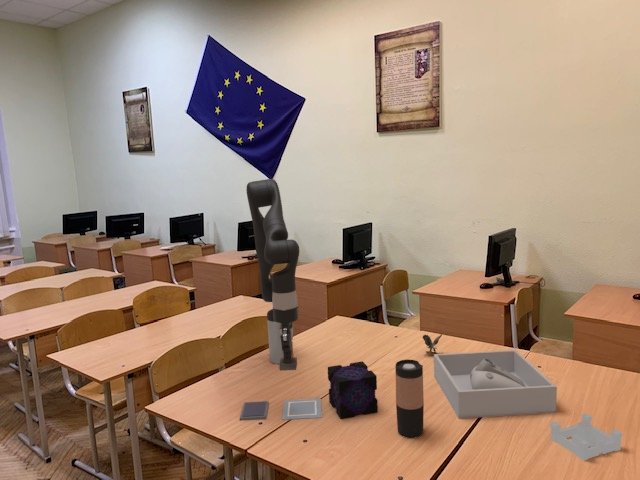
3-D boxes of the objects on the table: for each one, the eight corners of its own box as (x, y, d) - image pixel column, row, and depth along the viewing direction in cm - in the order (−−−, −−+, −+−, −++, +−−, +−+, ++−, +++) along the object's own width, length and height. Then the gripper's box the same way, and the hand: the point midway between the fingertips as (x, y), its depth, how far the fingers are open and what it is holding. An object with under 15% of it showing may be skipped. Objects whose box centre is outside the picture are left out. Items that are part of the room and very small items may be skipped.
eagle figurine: (430, 359, 189) (429, 336, 187) (418, 353, 195) (418, 331, 194) (445, 355, 192) (445, 333, 190) (434, 349, 198) (434, 328, 197)
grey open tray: (434, 376, 173) (433, 354, 172) (515, 372, 174) (515, 349, 172) (458, 418, 145) (458, 392, 143) (556, 413, 145) (556, 386, 144)
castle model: (585, 428, 137) (586, 403, 136) (635, 457, 123) (636, 430, 122) (542, 440, 132) (543, 414, 131) (589, 472, 118) (590, 443, 117)
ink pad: (244, 405, 159) (243, 401, 159) (268, 403, 159) (268, 400, 159) (239, 421, 149) (239, 417, 149) (266, 419, 149) (265, 416, 149)
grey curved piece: (501, 408, 148) (502, 375, 146) (457, 389, 161) (457, 358, 160) (533, 392, 157) (533, 360, 155) (488, 375, 170) (488, 346, 169)
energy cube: (340, 419, 147) (338, 382, 145) (329, 401, 159) (327, 366, 157) (377, 412, 150) (376, 375, 149) (363, 395, 162) (362, 361, 160)
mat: (284, 401, 160) (284, 400, 160) (320, 399, 160) (320, 398, 160) (282, 420, 148) (282, 418, 148) (321, 418, 148) (321, 416, 148)
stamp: (281, 364, 154) (279, 339, 153) (297, 363, 154) (295, 339, 153) (279, 370, 149) (278, 345, 148) (296, 369, 149) (294, 344, 148)
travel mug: (393, 435, 137) (391, 367, 134) (401, 422, 144) (400, 357, 141) (419, 441, 134) (418, 372, 131) (427, 427, 140) (426, 361, 137)
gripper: (275, 299, 156) (278, 350, 159) (270, 312, 142) (273, 368, 145) (298, 298, 156) (301, 349, 158) (295, 311, 142) (299, 367, 144)
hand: (288, 358), depth 151 cm, fingers closed on stamp, 3 cm apart
